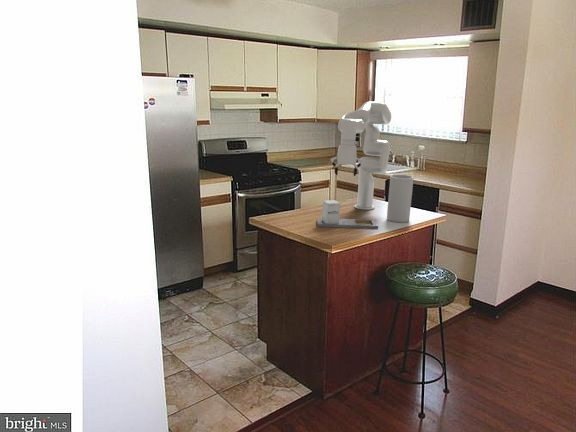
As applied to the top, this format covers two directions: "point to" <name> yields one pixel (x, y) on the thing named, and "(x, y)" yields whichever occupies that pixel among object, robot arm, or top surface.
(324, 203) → the supplement box
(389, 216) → the cylinder vase
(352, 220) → the grey flat plate
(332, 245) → the top surface
